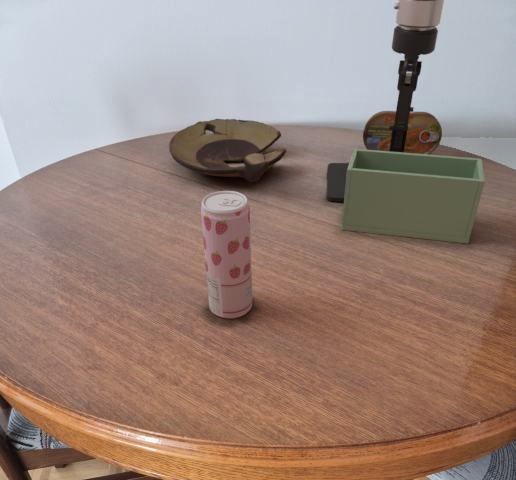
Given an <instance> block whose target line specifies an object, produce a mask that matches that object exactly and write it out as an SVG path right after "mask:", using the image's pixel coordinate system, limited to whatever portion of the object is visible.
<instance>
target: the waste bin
mask: <svg viewBox="0 0 516 480" xmlns="http://www.w3.org/2000/svg"><path fill="white" fill-rule="evenodd" d="M351 153H352V154H351V156H350V160H349V162H348V163H349V165H348V168H347V176H346V186H345V197H344V202H343V208H342V219H341V230H342V231H350V232H359V233H366V234H367V233H368V234H377V235H386V236H395V237H404V238H413V239H422V240H431V241H441V242H449V243H457V244H458V243H459V244H467V245H468V244H469V243H470V239H471V235H472V231H473V227H474V224H475V220H476V216H477V212H478V210H479V209H478V208H479V205H480V202H481V197H482V195H483V191H484V187H485V183H486V180H485V179H486V178H485V173H484V166H483V159H482V158H478V157H477V158H476V157H466V156H465V157H464V156H451V155H440V154H439V155H438V154H429V155H428V154H415V153H403V152H390V151H378V150H367V149H366V148H364V149H363V148H362V149H361V148H353V150H352V152H351Z"/></svg>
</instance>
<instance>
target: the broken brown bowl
mask: <svg viewBox="0 0 516 480" xmlns="http://www.w3.org/2000/svg"><path fill="white" fill-rule="evenodd" d="M206 131H209V132H212V133H206ZM281 137H282V133H281V131H280V130H277V128H276V127H273V126H272V125H268V124H265V123H264V122H260V121H257V120H247V119H246V120H245V119H236V118H226V119H223V118H215V119H210V120H204V121H198V122H196V123H195V124H192V125H189V126H187V127H185V128H183V129H181V130H179V131H178V132H177V133H175V134H174V135H173V136H172V138H171V139H170V141H169V144H168V150H169V153H170V155H171V157H172V158H173V160H174V161H175V162H176V163H177V164H179V165H181V166H182V167H184V168H186V169H188V170H190V171H194V172H197V173H201V174H204V175H208V176H214V177H225V178H242V179H244V180H246V181H247V182H250V183H253V182H257V181H259V180H260V179H261V178H262V176H263V175H264V173H265V172H266V171H267V170H268V169H269V168H270V167H272V166H274V165H276V164H277V163H278V162H279V161H281V160H282V159H283V157H284V156H285V155H286V153H287V148H281V149H276V150H275V151H272V152H268V153H266V154H264V152H265V151H266V150H268V149H269V148H270V147H271V146H272V145H274V144H275V143H276V142H277V141H278V140H279V139H281ZM226 162H234V163H235V162H236V163H237V162H238V163H239V162H243V164H244V165H242V166H232V167H231V166H230V165H229V164H227V163H226Z"/></svg>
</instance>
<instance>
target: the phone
mask: <svg viewBox="0 0 516 480" xmlns="http://www.w3.org/2000/svg"><path fill="white" fill-rule="evenodd" d="M348 165H349V162H330V163H328V164H327V169H326V199H327V201H330V202H340V203H341V202H343V203H344V197H345V186H346V176H347V168H348Z"/></svg>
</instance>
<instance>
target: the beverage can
mask: <svg viewBox="0 0 516 480" xmlns="http://www.w3.org/2000/svg"><path fill="white" fill-rule="evenodd" d="M200 215H201V217H200V218H201V229H202V239H203V242H202V243H203V250H204V263H205V277H206V288H207V299H208V308H209V310H210V311H211V313H212V314H214V315H216V316H217V317H219V318H223V319H237V318H240V317H243V316H245V315H246V314H247V313H248V312H250V310H251V309H252V307H253V285H252V284H253V278H252V277H253V276H252V275H253V274H252V246H251V245H252V244H251V243H252V241H251V211H250V204H249V199H248V198H247V197H246V195H245V194H243V193H241V192H238V191H234V190H219V191H215V192H214V191H213V192H211V193H209V194H207V195H205V196H204V197H203V198H202V200H201V207H200Z"/></svg>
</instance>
